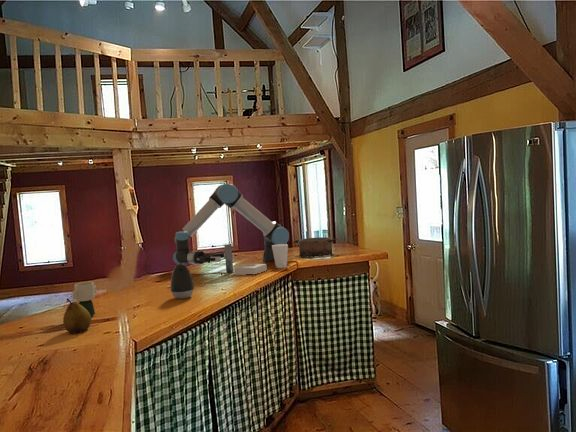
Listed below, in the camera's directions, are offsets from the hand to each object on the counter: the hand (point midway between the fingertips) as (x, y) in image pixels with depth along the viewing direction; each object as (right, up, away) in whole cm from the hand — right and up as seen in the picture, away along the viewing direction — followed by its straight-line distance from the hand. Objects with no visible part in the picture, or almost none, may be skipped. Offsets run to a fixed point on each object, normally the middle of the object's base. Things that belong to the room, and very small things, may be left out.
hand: (227, 257), depth 275 cm
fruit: (-38, -17, -108) cm, 116 cm away
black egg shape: (-12, -13, -62) cm, 64 cm away
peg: (+1, -9, 0) cm, 9 cm away
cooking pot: (+54, -3, +55) cm, 77 cm away
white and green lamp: (-44, -16, -86) cm, 98 cm away
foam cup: (+31, -7, +8) cm, 33 cm away
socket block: (+14, -8, -6) cm, 17 cm away
